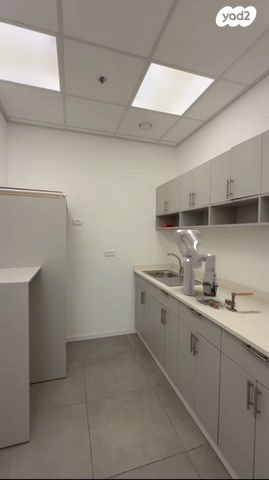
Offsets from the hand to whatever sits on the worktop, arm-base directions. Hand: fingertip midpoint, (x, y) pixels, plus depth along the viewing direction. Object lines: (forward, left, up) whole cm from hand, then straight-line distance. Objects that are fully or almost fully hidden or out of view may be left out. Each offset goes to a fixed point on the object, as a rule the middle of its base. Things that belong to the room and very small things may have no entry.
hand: (209, 291), depth 180 cm
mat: (0, 0, -9) cm, 9 cm away
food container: (-1, 0, -4) cm, 4 cm away
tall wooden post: (+22, +11, +2) cm, 24 cm away
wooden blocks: (+14, +4, -9) cm, 17 cm away
